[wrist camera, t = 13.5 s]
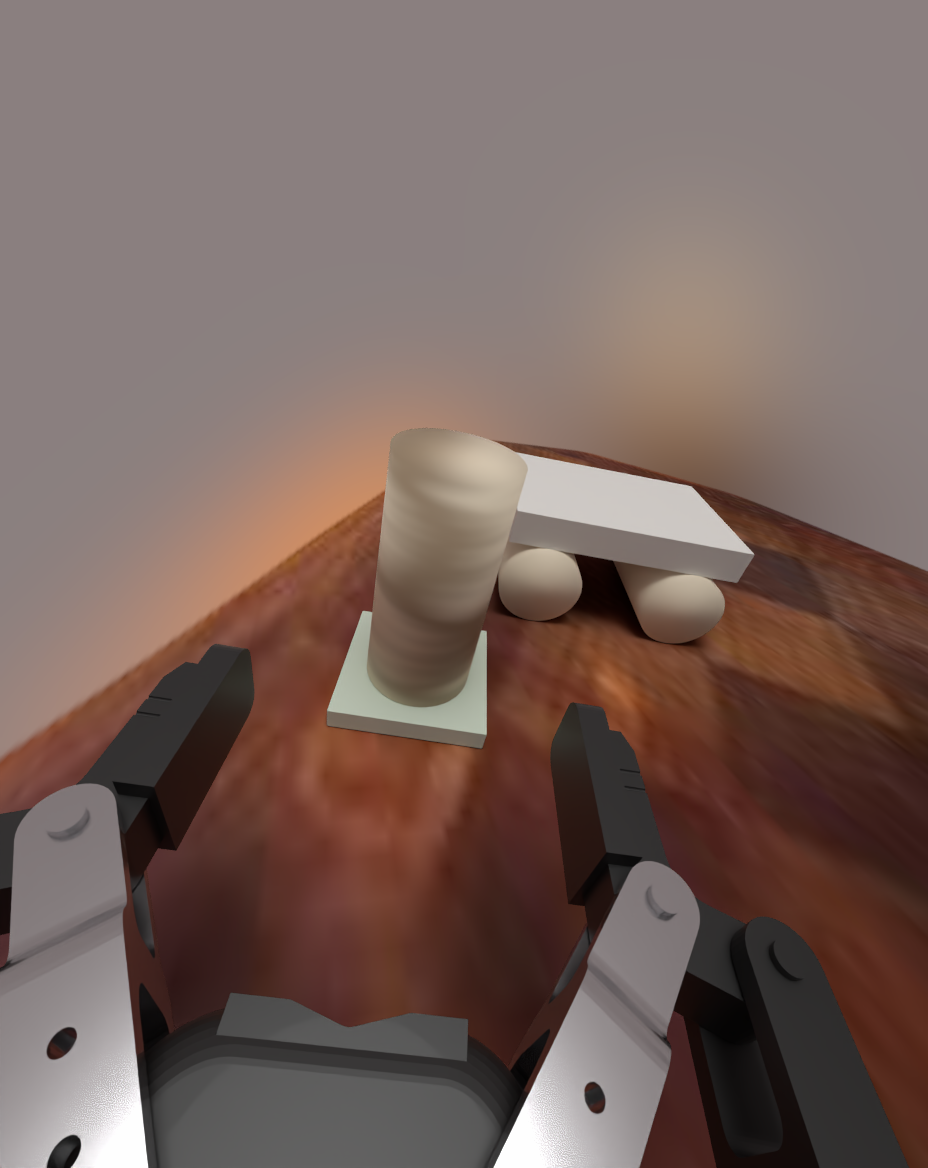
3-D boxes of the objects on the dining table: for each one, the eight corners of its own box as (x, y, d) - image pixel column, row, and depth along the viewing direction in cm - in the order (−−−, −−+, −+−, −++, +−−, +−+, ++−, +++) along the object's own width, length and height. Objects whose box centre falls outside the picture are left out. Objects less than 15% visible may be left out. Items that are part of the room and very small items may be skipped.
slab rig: (651, 560, 39) (688, 483, 35) (700, 648, 30) (758, 559, 26) (489, 531, 38) (509, 449, 34) (491, 613, 29) (518, 514, 25)
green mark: (483, 644, 27) (486, 631, 26) (481, 748, 21) (486, 734, 20) (362, 624, 26) (362, 610, 26) (326, 725, 20) (327, 710, 20)
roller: (469, 641, 25) (523, 445, 19) (465, 715, 21) (532, 495, 15) (378, 625, 25) (402, 419, 19) (355, 696, 21) (377, 463, 14)
